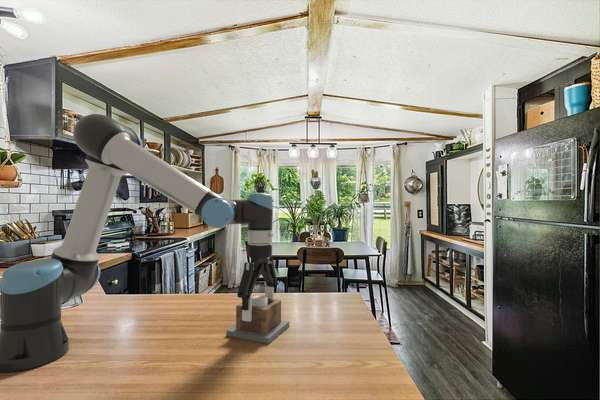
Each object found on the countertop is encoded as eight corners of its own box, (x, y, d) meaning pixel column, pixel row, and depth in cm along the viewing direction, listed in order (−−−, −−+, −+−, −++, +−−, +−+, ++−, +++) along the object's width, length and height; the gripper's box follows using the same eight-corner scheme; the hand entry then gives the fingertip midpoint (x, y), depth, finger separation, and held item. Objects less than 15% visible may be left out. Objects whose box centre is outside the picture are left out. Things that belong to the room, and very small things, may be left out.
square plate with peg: (268, 343, 87) (268, 307, 88) (226, 335, 93) (226, 301, 93) (289, 326, 100) (289, 294, 101) (251, 319, 106) (251, 289, 106)
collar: (265, 334, 90) (265, 309, 90) (236, 329, 94) (236, 305, 94) (281, 322, 99) (281, 300, 99) (253, 318, 103) (253, 296, 103)
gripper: (248, 249, 84) (247, 329, 84) (287, 240, 107) (286, 303, 107) (225, 247, 87) (223, 325, 87) (268, 239, 110) (267, 300, 110)
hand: (258, 313), depth 97 cm, fingers open, 13 cm apart
